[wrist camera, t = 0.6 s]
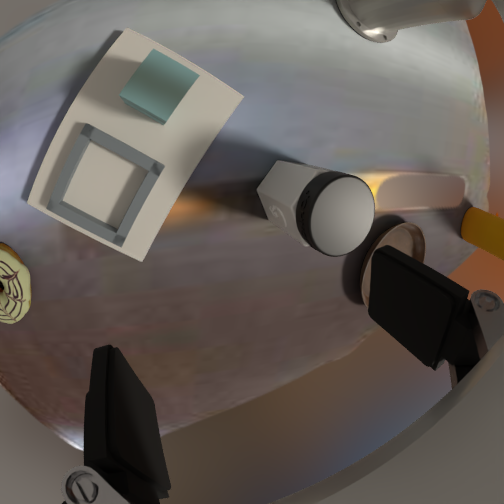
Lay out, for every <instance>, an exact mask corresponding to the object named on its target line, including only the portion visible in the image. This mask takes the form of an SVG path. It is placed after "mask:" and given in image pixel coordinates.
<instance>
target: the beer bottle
mask: <svg viewBox="0 0 504 504" xmlns="http://www.w3.org/2000/svg"><path fill="white" fill-rule="evenodd" d="M461 235H462V238H463V239H464V240H465V241H467V242H468V243H471V244H473V245H475V246H477V247H479V248H481V249H483V250H485V251H487V252H489V253H491V254H493V255H494V256H496V257H498V258H500V259H502V260H504V219H502V218H500V217H497V216H495V215H492V214H490V213H488V212H485V211H483V210H481V209H479V208H476V207H471V208H469V209H468V210H467V212H466V213H465V215H464V218H463V221H462V226H461Z"/></svg>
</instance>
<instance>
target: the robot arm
mask: <svg viewBox="0 0 504 504" xmlns="http://www.w3.org/2000/svg"><path fill="white" fill-rule="evenodd" d="M336 1H337V5H338V7H339V9H340V11H341V13H342V15H343V17H344V18H345V19H346V21H347V22H348V23H349V24H350V26H351V27H352V28H353V29H354V30H355V31H357V32H358V33H359V34H360V35H362V36H363V37H365V38H366V39H368V40H370V41H373V42H377V43H384V42H388V41H391V40H393V39H394V38H395V36H396V35H397V32H398V30H400V29H405V28H410V27H416V26H421V25H427V24H434V23H441V22H449V21H459V20H468V19H472V18H474V17H476V16H477V15H479V14H480V12H481V11H482V9H483V7H484V5H485V3H486V1H487V0H336ZM492 1H493V3H494V4H495V6H496V8H497V10H498V11H499V13H500V15H501V17H502V20H503V22H504V0H492ZM468 294H469V290H467V289H465V288H463V287H462V286H460V285H459V284H457V283H456V282H454V281H452V280H450V279H449V278H447V277H445V276H444V275H442V274H440V273H439V272H437V271H435V270H434V269H432V268H430V267H428V266H427V265H425V264H423V263H421V262H419V261H418V260H416V259H414V258H412V257H410V256H409V255H407V254H405V253H403V252H401V251H400V250H398V249H396V248H394V247H392V246H390V245H385V246H383V247H380V248H378V249H376V250H375V251H374V253H373V255H372V258H371V277H370V293H369V305H368V313H369V316H370V317H371V318H372V319H373V320H374V321H375V322H376V323H377V324H379V325H380V326H381V327H382V328H383V329H384V330H386V331H387V332H388V333H389V334H390V335H391V336H393V337H394V338H395V339H396V340H397V341H398V342H399V343H401V344H402V345H403V346H404V347H405V348H407V350H409V351H410V352H411V353H412V354H413V355H414V356H415V357H417V358H418V359H419V360H420V361H421V362H422V363H423V364H424V365H426V366H428V367H429V366H430V367H431V368H432V369H433V370H437V369H438V368H439V367H440V366H441V365H442V364H443V363H444V361H445V360H447V361H448V363H449V370H450V377H451V385H452V390H451V391H450V392H449V393H448V394H446V396H444V397H443V398H442V399H441V400H440V401H439V402H438V403H437V404H436V405H434V406H433V407H432V408H431V409H430V410H429V411H427V412H426V413H425V414H424V415H423V416H421V417H420V418H419V419H418V420H416V421H415V422H414V423H413V424H411V425H410V426H409V427H407V428H406V429H405V430H403V431H402V432H401V433H399V434H398V435H397V436H396V437H394V438H392V439H391V440H390V441H388V442H387V443H385V444H384V445H382V446H381V447H379V448H378V449H376V450H375V451H373V452H372V453H370V454H368V455H367V456H366V457H364V458H362V459H360V460H359V461H357V462H355V463H354V464H352V465H350V466H349V467H347V468H345V469H343V470H341V471H339V472H338V473H336V474H334V475H332V476H330V477H328V478H326V479H324V480H322V481H320V482H318V483H316V484H314V485H312V486H310V487H308V488H305V489H303V490H301V491H299V492H296V493H294V494H292V495H289V496H287V497H284V498H282V499H280V500H277V501H274V502H271V503H268V504H504V303H503V301H502V300H501V298H500V297H499V296H498V295H497V294H495V293H493V292H491V291H488V290H477V291H475V292H473V294H472V295H471V299H470V300H468V299H467V297H468ZM170 489H171V484H170V480H169V476H168V471H167V468H166V463H165V458H164V454H163V449H162V444H161V439H160V434H159V428H158V422H157V416H156V410H155V404H154V401H153V399H152V397H151V395H150V394H149V393H148V391H147V390H146V388H145V387H144V386H143V384H142V383H141V381H140V380H139V379H138V377H137V376H136V374H135V373H134V371H133V370H132V368H131V367H130V365H129V364H128V362H127V361H126V359H125V357H124V356H123V354H122V353H121V351H120V350H119V348H118V347H115V348H113V346H112V345H106V346H102V347H99V348H95V349H94V352H93V359H92V368H91V377H90V388H89V392H88V393H87V394H86V400H85V416H84V466H76V467H73V468H72V469H70V470H69V471H67V473H66V474H65V475H64V477H63V480H62V484H61V491H62V495H63V497H64V499H65V501H64V502H63V503H62V504H160V502H159V499H163V498H168V497H169V495H168V491H167V490H170Z"/></svg>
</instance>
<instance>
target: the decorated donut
mask: <svg viewBox="0 0 504 504" xmlns="http://www.w3.org/2000/svg"><path fill="white" fill-rule="evenodd" d="M0 281H1V282H2V283H3V285H4V290H3V289H2V288H1V287H0V321H2V322H5V323H9V324H12V323H15V322H18V321H19V320H20V319H21V318H22V317H23V316H24V314H25V313H26V312H28V309H29V308H30V304H31V285H30V273H29V270H28V269H27V267H26V266H25V265H24V263H23V262H22V260H21V259H20V257H19V256H18V254H17V253H16V252H14V251H13V250H12V249H11V248H10V247H9V246H7V245H6V244H4V243H0Z"/></svg>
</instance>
